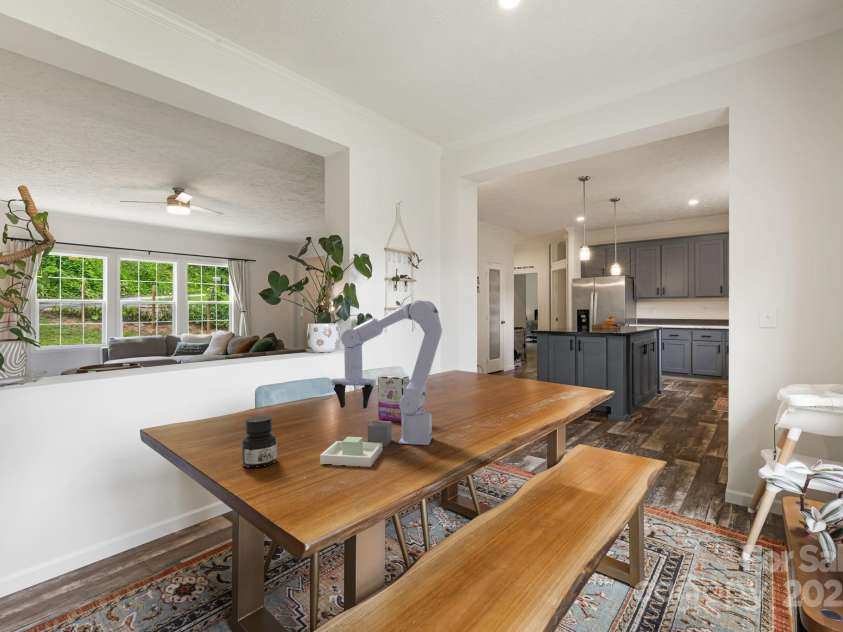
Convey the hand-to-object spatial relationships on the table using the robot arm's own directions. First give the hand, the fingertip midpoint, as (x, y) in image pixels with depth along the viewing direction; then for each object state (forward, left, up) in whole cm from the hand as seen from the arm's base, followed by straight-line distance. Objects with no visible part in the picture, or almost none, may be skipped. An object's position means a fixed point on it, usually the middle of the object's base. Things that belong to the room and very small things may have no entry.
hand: (354, 407), depth 135 cm
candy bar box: (-8, -22, -10) cm, 25 cm away
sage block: (-6, +19, -9) cm, 22 cm away
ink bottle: (+18, +26, -10) cm, 33 cm away
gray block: (-10, +5, -10) cm, 15 cm away
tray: (-6, +19, -9) cm, 22 cm away
